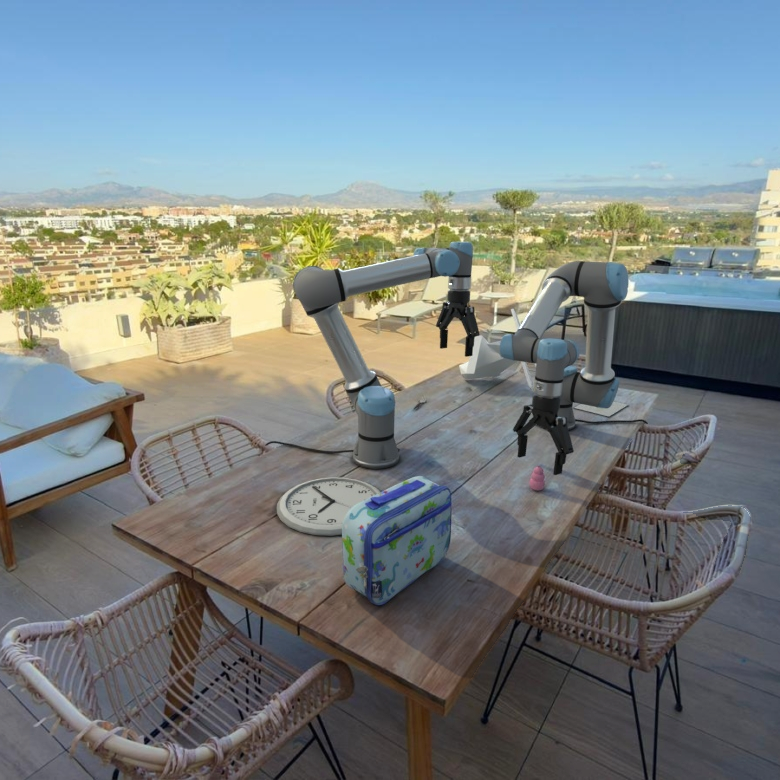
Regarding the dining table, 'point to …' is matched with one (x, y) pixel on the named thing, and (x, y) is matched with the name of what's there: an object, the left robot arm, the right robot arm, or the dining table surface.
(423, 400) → the fork
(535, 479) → the dog chew toy
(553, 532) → the dining table surface
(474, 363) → the white plastic object
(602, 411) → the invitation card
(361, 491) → the wall clock
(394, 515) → the lunch box
